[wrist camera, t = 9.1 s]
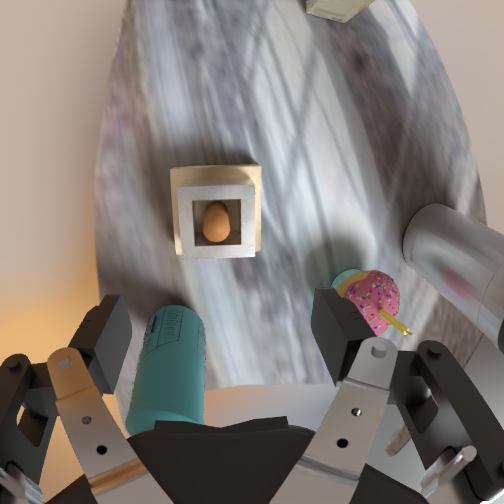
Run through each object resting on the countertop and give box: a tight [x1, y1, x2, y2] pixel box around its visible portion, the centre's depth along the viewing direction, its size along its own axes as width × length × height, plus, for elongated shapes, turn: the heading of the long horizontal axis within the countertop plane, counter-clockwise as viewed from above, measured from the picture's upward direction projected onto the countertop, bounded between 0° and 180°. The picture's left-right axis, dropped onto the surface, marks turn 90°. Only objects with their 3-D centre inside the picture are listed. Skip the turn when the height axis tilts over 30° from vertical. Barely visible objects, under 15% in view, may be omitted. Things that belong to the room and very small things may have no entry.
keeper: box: [170, 164, 261, 254], centre depth 25 cm, size 8×8×7 cm
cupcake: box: [331, 269, 413, 336], centre depth 28 cm, size 9×8×12 cm
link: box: [177, 178, 255, 259], centre depth 25 cm, size 6×6×4 cm
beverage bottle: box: [125, 305, 206, 436], centre depth 24 cm, size 6×7×20 cm
